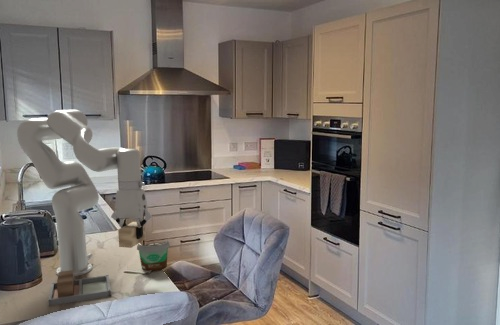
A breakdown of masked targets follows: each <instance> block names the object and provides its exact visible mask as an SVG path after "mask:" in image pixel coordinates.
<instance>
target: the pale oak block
mask: <svg viewBox="0 0 500 325" xmlns="http://www.w3.org/2000/svg"><path fill="white" fill-rule="evenodd" d="M137 227H138V226H137V223H136V221H131V222H130V223H128V224H126V226H124V227H122V228H121V227H120V228H118V230H117V234H118V247H119V248H125V249H126V248H129V249H131V248H133V247H135V246H137V245H138V244H140V243H141V242H143V241H145V240H146V223H145V224H144V226H143V236H142V237H141V238H140V239H137V235H136V228H137Z"/></svg>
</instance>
